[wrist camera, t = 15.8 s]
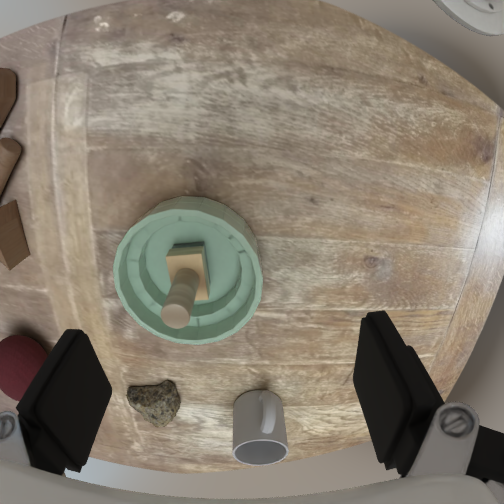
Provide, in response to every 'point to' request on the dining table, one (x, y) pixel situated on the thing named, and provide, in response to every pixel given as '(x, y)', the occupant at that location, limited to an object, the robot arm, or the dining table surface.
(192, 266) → the wooden stamp
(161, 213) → the bowl
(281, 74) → the dining table surface
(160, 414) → the rock
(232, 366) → the dining table surface
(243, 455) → the cup
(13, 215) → the wooden block set
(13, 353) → the decorative ball
